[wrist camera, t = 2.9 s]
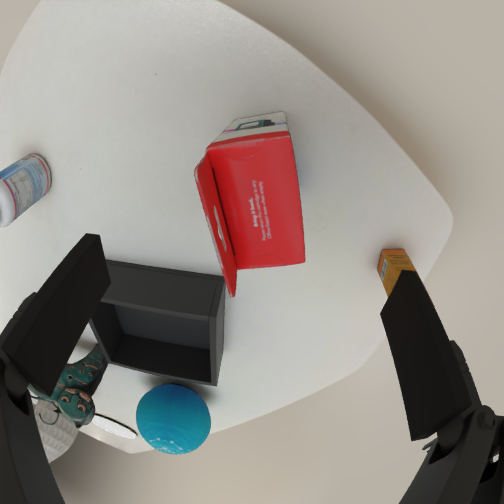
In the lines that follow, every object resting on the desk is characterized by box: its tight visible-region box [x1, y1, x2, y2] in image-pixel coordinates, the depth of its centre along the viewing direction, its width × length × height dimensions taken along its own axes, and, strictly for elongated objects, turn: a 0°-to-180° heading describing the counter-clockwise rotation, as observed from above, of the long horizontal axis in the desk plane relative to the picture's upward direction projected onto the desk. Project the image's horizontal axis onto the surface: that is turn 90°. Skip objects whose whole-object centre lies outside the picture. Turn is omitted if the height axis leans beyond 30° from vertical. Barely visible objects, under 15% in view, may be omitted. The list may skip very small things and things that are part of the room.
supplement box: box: [377, 249, 431, 299], centre depth 28 cm, size 3×4×10 cm
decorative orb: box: [136, 384, 211, 454], centre depth 48 cm, size 15×15×15 cm
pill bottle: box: [0, 154, 51, 227], centre depth 24 cm, size 6×6×11 cm
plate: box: [91, 415, 137, 439], centre depth 82 cm, size 21×21×1 cm
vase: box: [34, 400, 79, 463], centre depth 49 cm, size 13×13×28 cm
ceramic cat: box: [28, 344, 108, 428], centre depth 40 cm, size 20×6×20 cm, turn 75°
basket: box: [89, 260, 226, 386], centre depth 37 cm, size 18×16×7 cm
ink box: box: [194, 112, 305, 298], centre depth 20 cm, size 8×5×15 cm, turn 11°
